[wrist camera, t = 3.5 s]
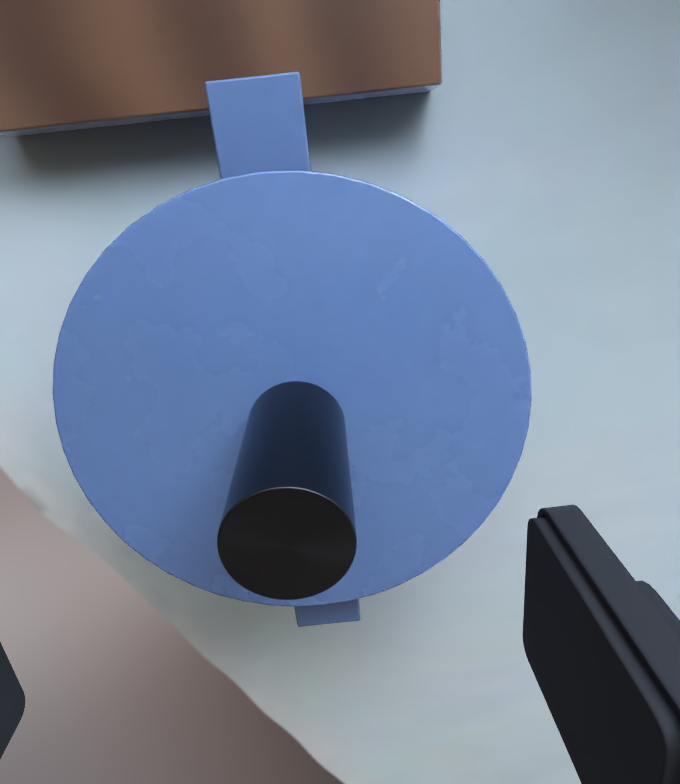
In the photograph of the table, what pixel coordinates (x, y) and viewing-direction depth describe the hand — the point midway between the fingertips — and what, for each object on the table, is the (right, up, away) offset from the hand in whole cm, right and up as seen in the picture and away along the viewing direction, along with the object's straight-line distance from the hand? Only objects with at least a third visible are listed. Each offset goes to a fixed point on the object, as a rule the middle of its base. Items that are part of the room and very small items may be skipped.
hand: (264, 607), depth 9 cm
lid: (0, +3, +7) cm, 8 cm away
